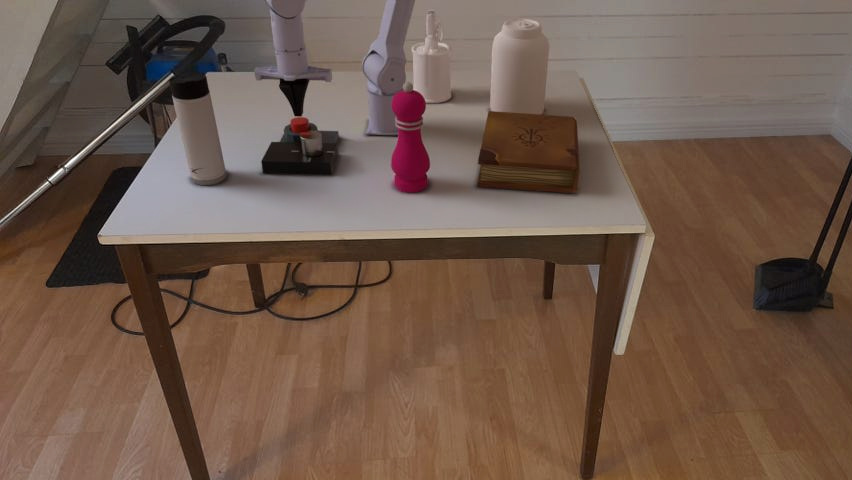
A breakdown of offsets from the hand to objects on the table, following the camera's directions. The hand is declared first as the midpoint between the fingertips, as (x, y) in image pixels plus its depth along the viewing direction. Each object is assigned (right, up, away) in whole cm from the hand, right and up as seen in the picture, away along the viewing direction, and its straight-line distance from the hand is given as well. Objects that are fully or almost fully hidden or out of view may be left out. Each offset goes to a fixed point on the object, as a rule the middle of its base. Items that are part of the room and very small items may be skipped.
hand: (298, 114), depth 142 cm
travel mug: (-15, -14, -9) cm, 22 cm away
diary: (+46, -10, 0) cm, 47 cm away
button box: (+1, -5, +4) cm, 7 cm away
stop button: (0, -3, +2) cm, 3 cm away
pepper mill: (+23, -15, -9) cm, 29 cm away
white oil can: (+25, +10, +26) cm, 37 cm away
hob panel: (+1, -11, -3) cm, 11 cm away
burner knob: (+4, -8, -5) cm, 10 cm away
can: (+45, +5, +21) cm, 50 cm away
